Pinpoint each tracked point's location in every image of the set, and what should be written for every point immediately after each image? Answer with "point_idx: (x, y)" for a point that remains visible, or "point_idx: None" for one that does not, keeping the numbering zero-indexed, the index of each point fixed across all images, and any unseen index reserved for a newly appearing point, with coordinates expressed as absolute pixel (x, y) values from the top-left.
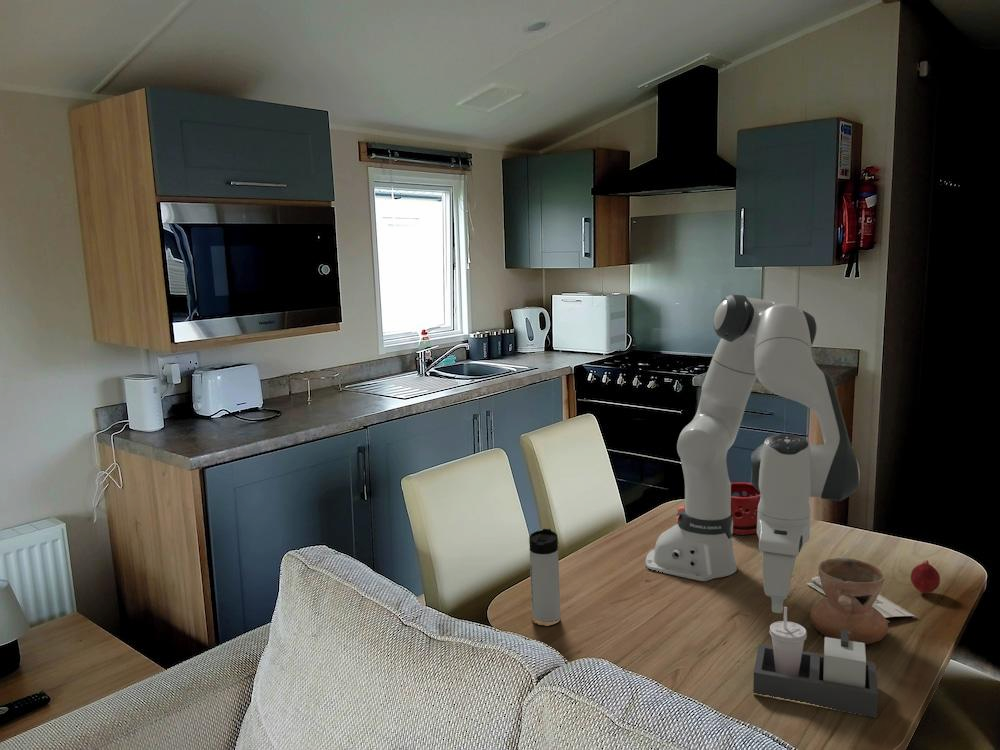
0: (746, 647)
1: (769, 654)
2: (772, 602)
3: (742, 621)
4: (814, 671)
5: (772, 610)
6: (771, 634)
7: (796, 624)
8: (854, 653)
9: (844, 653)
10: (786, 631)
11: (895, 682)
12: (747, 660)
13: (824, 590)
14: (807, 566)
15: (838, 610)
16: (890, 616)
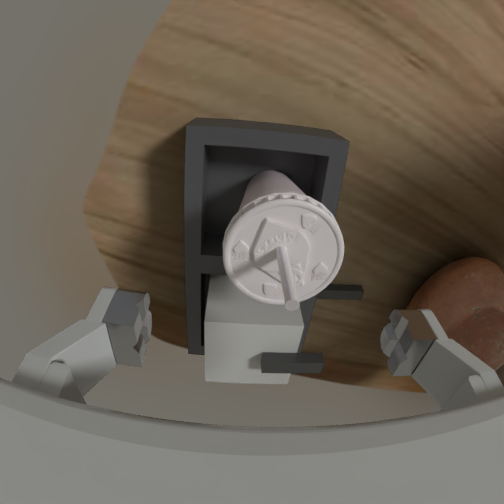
0: (404, 111)
1: (322, 163)
2: (79, 322)
3: (494, 122)
4: None
5: (102, 289)
6: (260, 199)
7: (325, 281)
8: (235, 369)
9: (228, 355)
10: (261, 254)
11: (307, 349)
12: (349, 106)
13: (496, 323)
14: None
15: (456, 324)
16: None
